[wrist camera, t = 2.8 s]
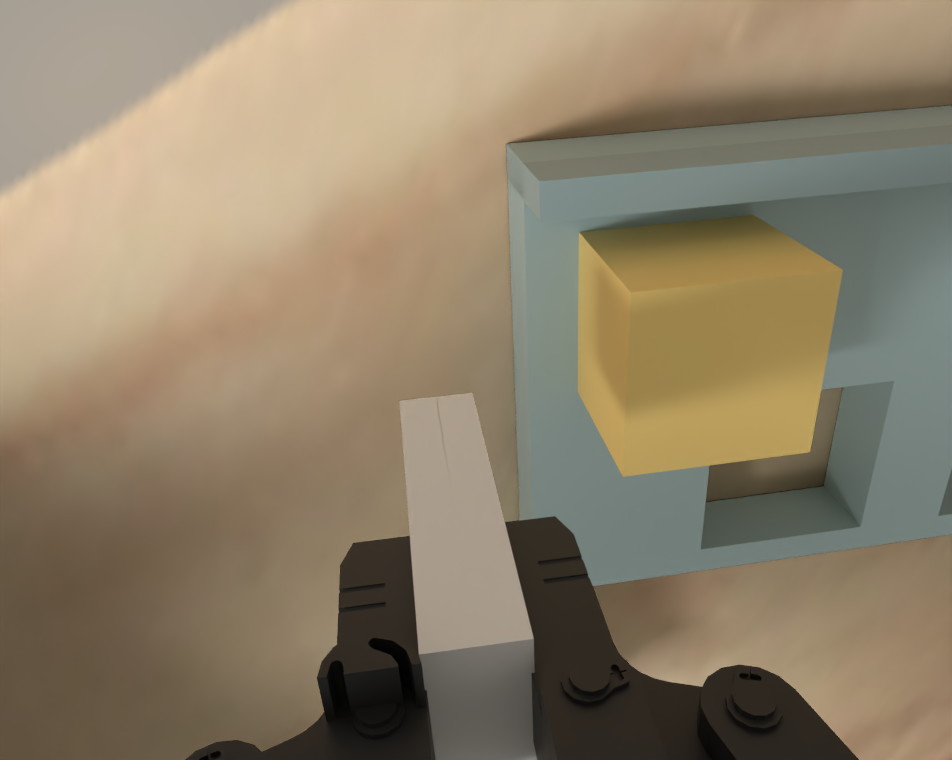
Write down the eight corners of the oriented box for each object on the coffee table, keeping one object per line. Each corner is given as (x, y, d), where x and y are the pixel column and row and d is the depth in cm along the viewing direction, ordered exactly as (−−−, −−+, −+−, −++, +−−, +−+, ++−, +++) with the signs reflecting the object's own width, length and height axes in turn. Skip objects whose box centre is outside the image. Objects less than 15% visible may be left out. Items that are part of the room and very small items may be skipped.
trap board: (520, 548, 29) (546, 638, 25) (505, 143, 22) (539, 181, 18) (1140, 462, 32) (1251, 532, 28) (1307, 74, 25) (1487, 94, 21)
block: (577, 391, 23) (622, 476, 20) (578, 231, 21) (630, 292, 17) (734, 372, 24) (809, 452, 20) (753, 214, 22) (843, 269, 18)
